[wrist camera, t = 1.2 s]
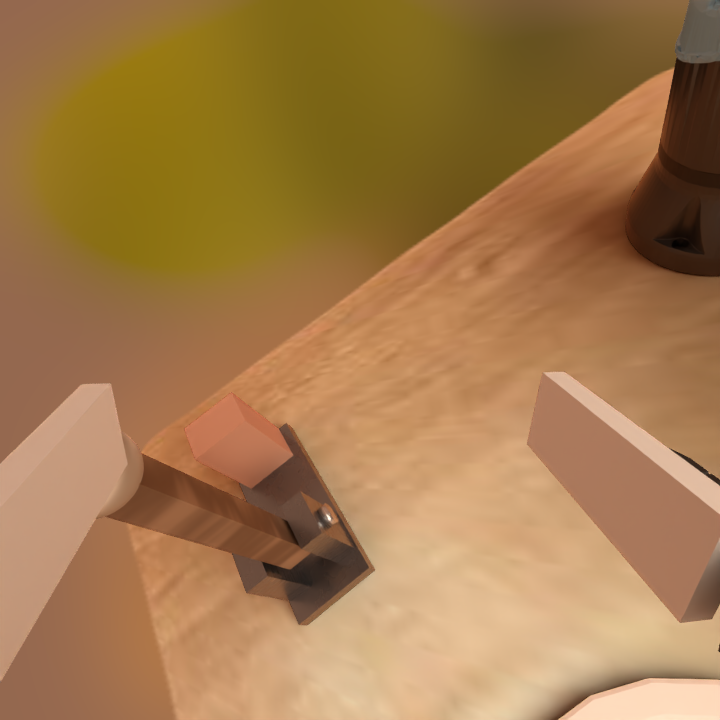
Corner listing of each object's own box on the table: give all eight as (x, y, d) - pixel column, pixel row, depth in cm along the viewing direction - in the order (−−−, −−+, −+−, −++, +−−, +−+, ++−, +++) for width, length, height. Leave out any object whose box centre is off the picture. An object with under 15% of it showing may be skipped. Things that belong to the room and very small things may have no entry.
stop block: (293, 455, 46) (245, 420, 39) (251, 488, 46) (195, 460, 39) (278, 429, 48) (231, 392, 41) (238, 460, 48) (184, 428, 41)
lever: (327, 554, 36) (97, 462, 18) (285, 588, 35) (9, 529, 18) (305, 510, 38) (86, 393, 21) (265, 542, 38) (10, 451, 20)
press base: (380, 565, 38) (342, 548, 32) (301, 629, 38) (246, 626, 31) (296, 425, 50) (256, 391, 43) (235, 473, 49) (184, 446, 43)
